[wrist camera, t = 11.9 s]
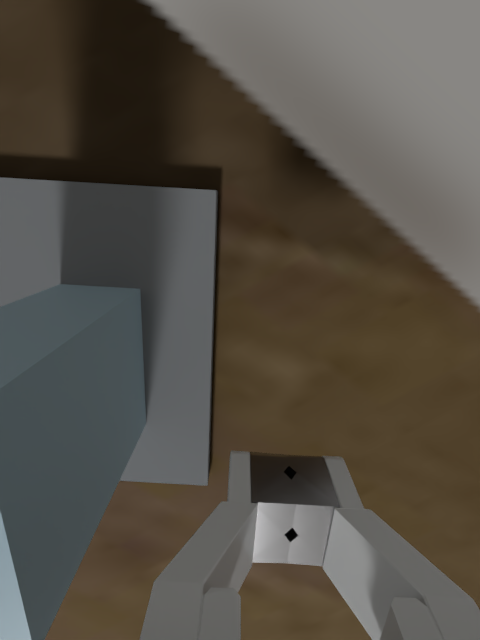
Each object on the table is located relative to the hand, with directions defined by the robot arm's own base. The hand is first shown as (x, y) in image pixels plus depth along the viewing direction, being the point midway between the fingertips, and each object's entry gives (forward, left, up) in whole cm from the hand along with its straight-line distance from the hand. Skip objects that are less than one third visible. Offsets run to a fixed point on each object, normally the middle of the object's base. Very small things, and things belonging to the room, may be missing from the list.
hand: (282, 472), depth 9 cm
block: (+8, 0, -7) cm, 10 cm away
